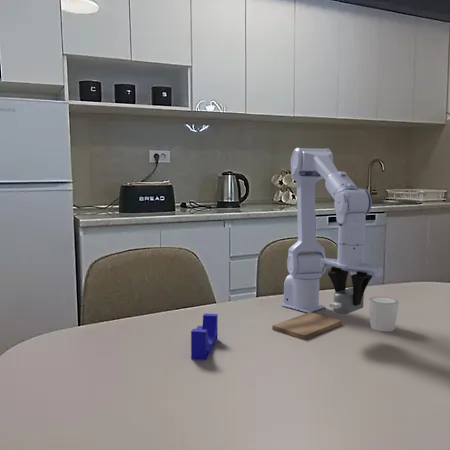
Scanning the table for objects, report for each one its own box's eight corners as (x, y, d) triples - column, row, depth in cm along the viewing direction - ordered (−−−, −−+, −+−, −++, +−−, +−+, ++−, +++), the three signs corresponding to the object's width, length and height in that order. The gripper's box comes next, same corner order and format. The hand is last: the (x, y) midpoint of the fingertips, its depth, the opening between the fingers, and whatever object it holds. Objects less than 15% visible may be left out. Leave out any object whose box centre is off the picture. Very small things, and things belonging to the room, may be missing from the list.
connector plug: (325, 313, 102) (326, 295, 101) (352, 303, 109) (353, 286, 109) (339, 316, 99) (340, 298, 99) (366, 306, 107) (366, 289, 106)
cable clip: (198, 338, 106) (198, 312, 105) (217, 339, 105) (217, 314, 104) (184, 359, 94) (183, 330, 93) (205, 361, 93) (205, 332, 92)
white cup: (393, 323, 116) (394, 296, 116) (400, 333, 110) (402, 304, 109) (365, 322, 117) (366, 295, 116) (371, 331, 110) (372, 303, 109)
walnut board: (272, 329, 111) (272, 325, 111) (310, 315, 122) (310, 312, 122) (304, 339, 105) (304, 335, 105) (341, 324, 115) (341, 320, 115)
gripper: (313, 241, 105) (311, 299, 107) (372, 249, 95) (369, 313, 97) (330, 238, 110) (328, 294, 112) (388, 245, 100) (385, 306, 102)
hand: (348, 302), depth 105 cm, fingers closed on connector plug, 3 cm apart
